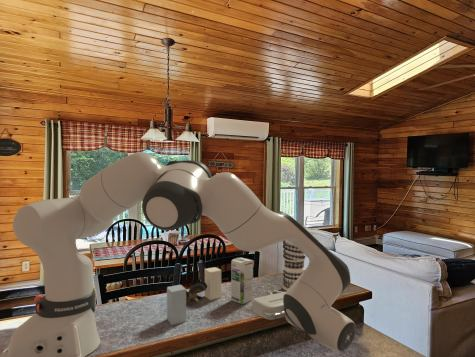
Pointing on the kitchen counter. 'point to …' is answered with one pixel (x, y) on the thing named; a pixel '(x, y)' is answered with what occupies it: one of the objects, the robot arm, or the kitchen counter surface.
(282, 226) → the robot arm
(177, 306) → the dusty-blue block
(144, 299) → the kitchen counter surface
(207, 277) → the cream block
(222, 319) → the kitchen counter surface
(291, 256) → the decorative candle
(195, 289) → the brown animal figure
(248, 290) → the syrup box
